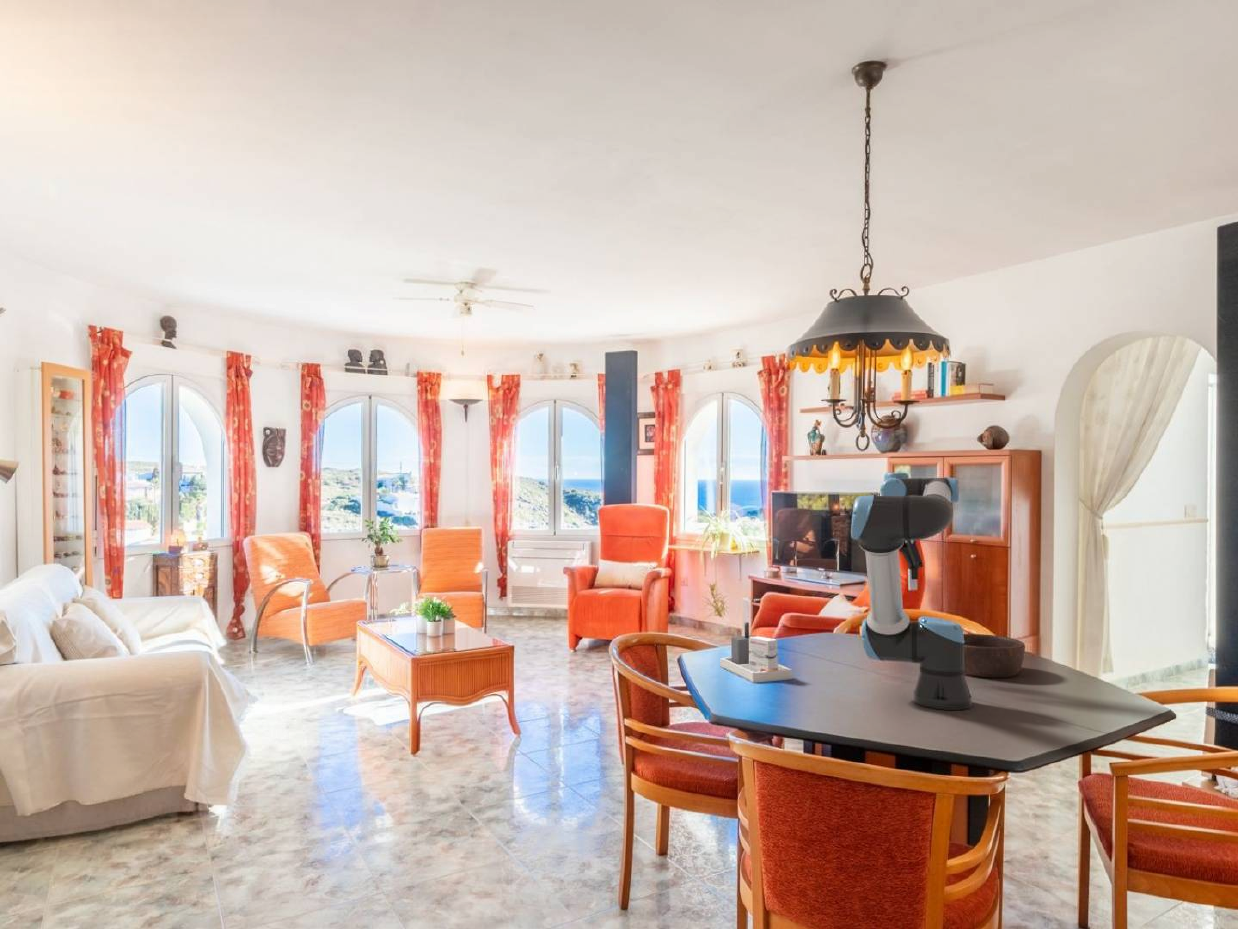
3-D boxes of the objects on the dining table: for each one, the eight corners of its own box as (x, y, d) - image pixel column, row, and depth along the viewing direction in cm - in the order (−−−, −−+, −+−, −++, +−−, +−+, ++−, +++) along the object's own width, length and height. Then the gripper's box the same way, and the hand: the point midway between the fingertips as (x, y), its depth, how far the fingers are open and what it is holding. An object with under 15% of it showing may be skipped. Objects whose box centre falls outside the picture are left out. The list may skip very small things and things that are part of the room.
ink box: (778, 676, 244) (778, 639, 245) (768, 678, 241) (768, 641, 242) (758, 671, 251) (757, 635, 252) (748, 674, 248) (747, 637, 248)
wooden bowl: (1040, 673, 249) (1040, 642, 250) (998, 685, 235) (998, 651, 236) (968, 660, 270) (968, 630, 270) (926, 669, 256) (925, 638, 256)
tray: (792, 679, 243) (792, 668, 243) (752, 682, 238) (752, 672, 238) (757, 664, 264) (756, 654, 265) (720, 667, 260) (720, 657, 260)
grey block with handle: (762, 668, 256) (762, 623, 256) (738, 670, 253) (738, 624, 253) (755, 665, 260) (755, 620, 261) (731, 667, 258) (731, 622, 258)
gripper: (934, 521, 235) (935, 591, 234) (882, 519, 259) (883, 582, 258) (914, 522, 232) (915, 592, 232) (863, 519, 256) (864, 583, 255)
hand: (898, 587), depth 245 cm, fingers open, 13 cm apart
